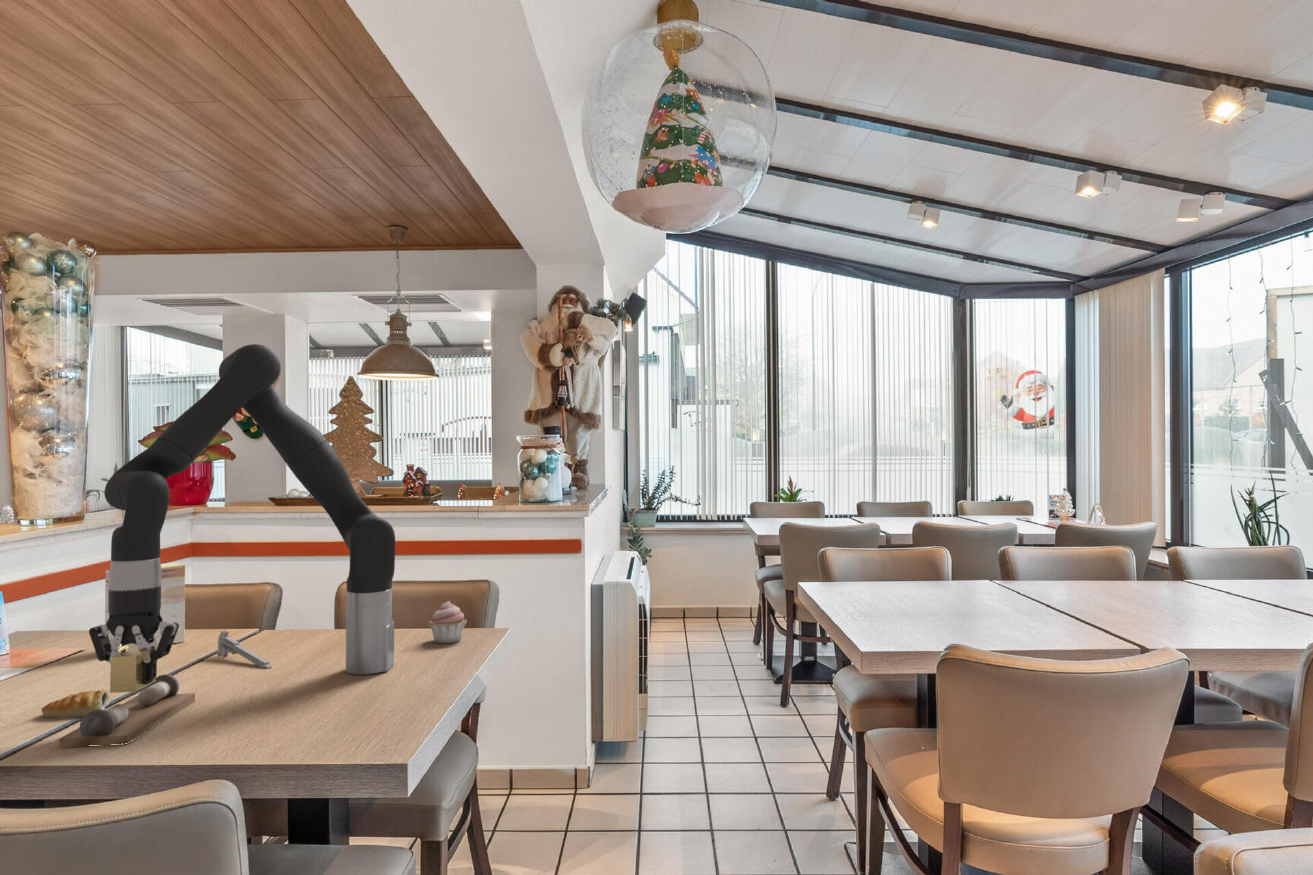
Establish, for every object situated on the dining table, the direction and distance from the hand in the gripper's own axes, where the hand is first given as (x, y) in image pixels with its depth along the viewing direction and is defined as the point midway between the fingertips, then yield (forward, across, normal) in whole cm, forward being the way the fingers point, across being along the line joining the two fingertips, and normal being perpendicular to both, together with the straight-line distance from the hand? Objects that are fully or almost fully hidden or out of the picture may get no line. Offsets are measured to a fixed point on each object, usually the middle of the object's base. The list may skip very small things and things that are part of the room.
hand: (133, 683), depth 126 cm
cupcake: (+7, -45, -51) cm, 68 cm away
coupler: (+1, 0, 0) cm, 1 cm away
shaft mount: (+7, 0, 0) cm, 7 cm away
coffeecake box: (+7, +28, -55) cm, 62 cm away
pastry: (+7, +13, -7) cm, 16 cm away
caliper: (+7, -2, -38) cm, 39 cm away
